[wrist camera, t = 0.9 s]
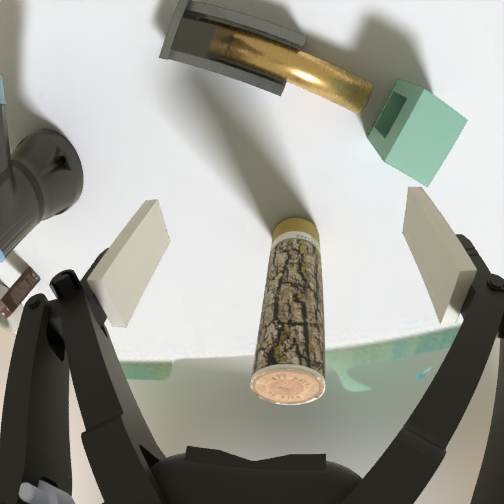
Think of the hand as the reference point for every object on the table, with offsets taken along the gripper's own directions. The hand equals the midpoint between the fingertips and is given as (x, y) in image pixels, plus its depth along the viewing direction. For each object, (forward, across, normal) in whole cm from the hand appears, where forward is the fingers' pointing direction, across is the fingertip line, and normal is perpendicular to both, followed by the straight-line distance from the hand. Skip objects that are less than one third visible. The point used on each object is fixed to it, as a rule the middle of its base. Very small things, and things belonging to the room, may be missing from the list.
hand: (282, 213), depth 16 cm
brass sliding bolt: (+24, 0, +7) cm, 25 cm away
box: (+26, -61, -26) cm, 72 cm away
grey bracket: (+26, -5, +9) cm, 28 cm away
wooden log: (+26, 0, -18) cm, 31 cm away
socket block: (+25, +14, -1) cm, 29 cm away
